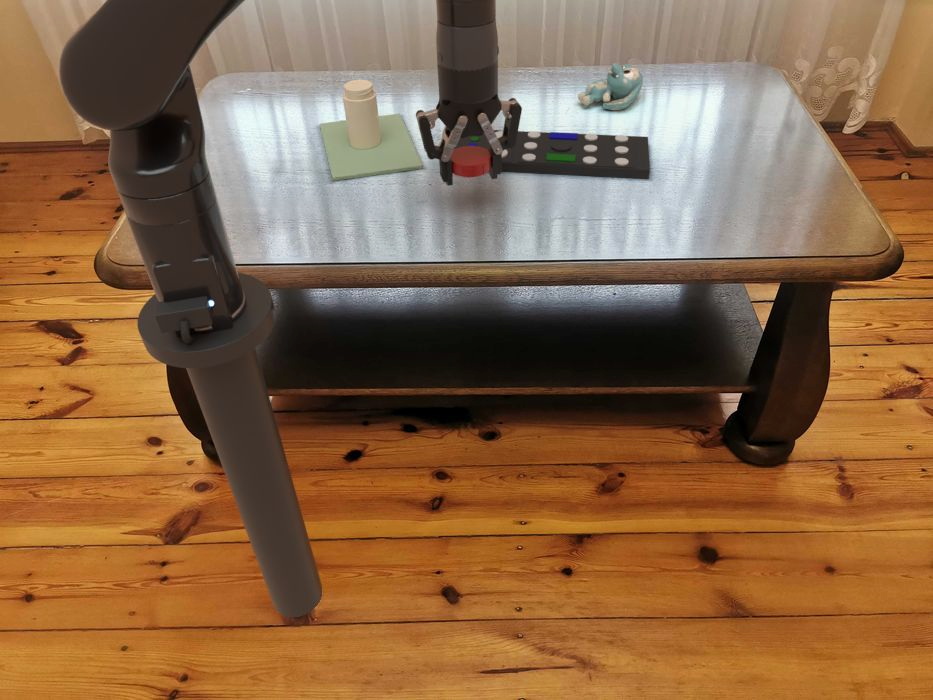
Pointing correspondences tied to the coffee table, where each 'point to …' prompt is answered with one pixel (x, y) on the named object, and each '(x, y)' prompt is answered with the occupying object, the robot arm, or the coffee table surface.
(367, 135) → the beige jar
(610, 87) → the stuffed animal
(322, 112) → the coffee table surface
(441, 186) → the coffee table surface
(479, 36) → the robot arm
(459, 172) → the red lid
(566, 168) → the remote control
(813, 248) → the coffee table surface
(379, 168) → the felt mat
